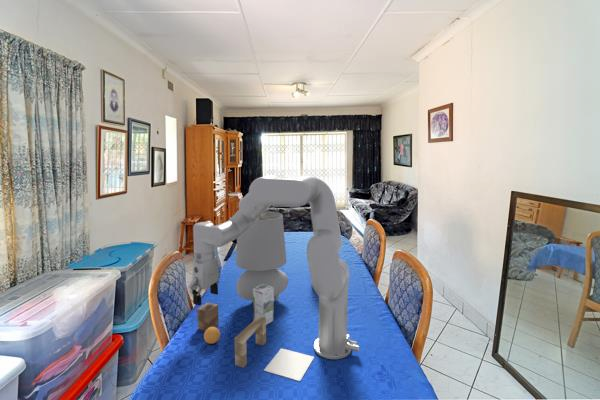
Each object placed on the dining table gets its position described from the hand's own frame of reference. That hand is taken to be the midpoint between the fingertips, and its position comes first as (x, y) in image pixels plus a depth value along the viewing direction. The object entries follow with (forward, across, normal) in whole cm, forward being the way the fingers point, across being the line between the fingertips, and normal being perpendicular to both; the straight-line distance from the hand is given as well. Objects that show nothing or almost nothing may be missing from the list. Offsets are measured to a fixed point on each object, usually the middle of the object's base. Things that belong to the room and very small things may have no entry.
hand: (206, 298), depth 123 cm
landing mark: (+10, -8, -39) cm, 41 cm away
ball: (+8, -8, -9) cm, 14 cm away
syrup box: (+11, +11, -19) cm, 24 cm away
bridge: (+11, -8, -25) cm, 28 cm away
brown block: (+11, 0, -1) cm, 11 cm away
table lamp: (+11, +25, -11) cm, 29 cm away
